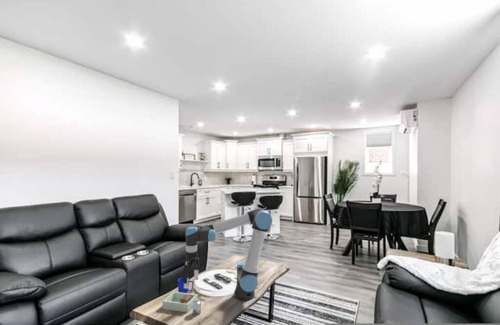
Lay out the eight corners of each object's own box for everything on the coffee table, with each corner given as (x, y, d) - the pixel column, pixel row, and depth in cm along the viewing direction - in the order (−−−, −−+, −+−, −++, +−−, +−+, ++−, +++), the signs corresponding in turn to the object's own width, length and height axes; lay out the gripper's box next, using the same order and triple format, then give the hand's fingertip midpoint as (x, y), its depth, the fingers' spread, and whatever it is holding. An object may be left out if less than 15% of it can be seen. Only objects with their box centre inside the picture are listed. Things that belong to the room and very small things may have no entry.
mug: (190, 296, 188) (191, 282, 189) (175, 294, 191) (175, 280, 191) (195, 291, 196) (195, 277, 197) (180, 289, 199) (180, 276, 199)
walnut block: (190, 303, 177) (190, 296, 177) (186, 307, 172) (186, 299, 172) (183, 302, 178) (184, 295, 178) (180, 306, 173) (180, 298, 174)
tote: (197, 302, 180) (197, 294, 181) (187, 312, 167) (187, 304, 167) (173, 298, 185) (173, 291, 185) (162, 308, 171) (162, 301, 171)
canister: (202, 311, 168) (202, 300, 168) (198, 315, 163) (198, 304, 164) (195, 310, 169) (195, 299, 170) (191, 314, 165) (191, 303, 165)
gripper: (195, 245, 185) (195, 275, 185) (176, 256, 161) (175, 291, 161) (205, 246, 183) (204, 276, 183) (186, 257, 159) (186, 292, 159)
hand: (191, 283), depth 172 cm, fingers open, 13 cm apart
